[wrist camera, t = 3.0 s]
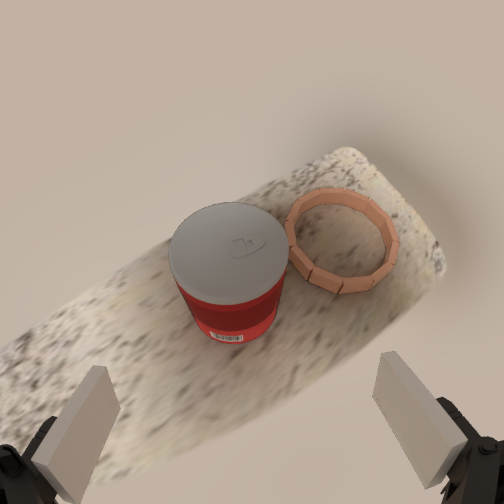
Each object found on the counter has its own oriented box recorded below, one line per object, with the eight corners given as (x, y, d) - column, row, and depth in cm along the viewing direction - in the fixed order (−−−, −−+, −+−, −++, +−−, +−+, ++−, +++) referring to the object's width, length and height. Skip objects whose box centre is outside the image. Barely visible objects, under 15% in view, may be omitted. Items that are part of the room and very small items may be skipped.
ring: (335, 315, 28) (341, 308, 27) (262, 227, 34) (262, 216, 32) (410, 254, 32) (417, 245, 30) (341, 185, 37) (344, 174, 36)
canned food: (292, 316, 28) (313, 258, 19) (221, 362, 26) (203, 326, 17) (247, 259, 32) (247, 184, 22) (180, 298, 29) (149, 234, 20)
